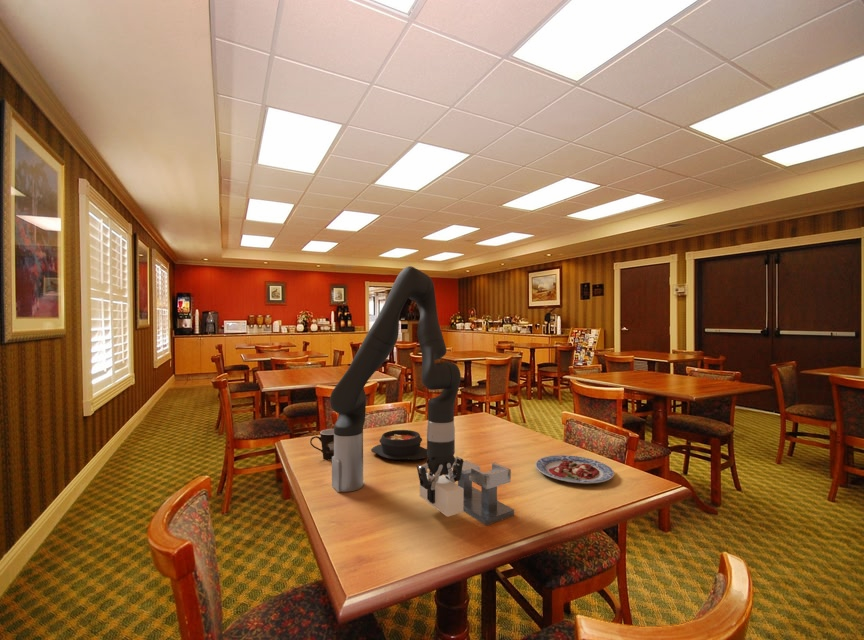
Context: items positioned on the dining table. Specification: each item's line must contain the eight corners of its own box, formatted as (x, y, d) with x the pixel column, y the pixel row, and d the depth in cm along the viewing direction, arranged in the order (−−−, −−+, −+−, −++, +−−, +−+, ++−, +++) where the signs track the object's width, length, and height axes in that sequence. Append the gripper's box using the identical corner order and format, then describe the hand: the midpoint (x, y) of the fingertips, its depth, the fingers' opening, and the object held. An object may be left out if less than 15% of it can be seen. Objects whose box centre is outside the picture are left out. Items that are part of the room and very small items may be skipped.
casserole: (439, 453, 158) (439, 432, 158) (416, 468, 142) (416, 445, 142) (387, 444, 170) (387, 425, 170) (361, 458, 153) (361, 436, 154)
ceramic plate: (552, 456, 155) (552, 448, 155) (622, 471, 139) (622, 463, 139) (522, 475, 135) (522, 467, 135) (600, 496, 119) (600, 486, 119)
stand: (485, 525, 102) (485, 477, 102) (442, 497, 118) (442, 455, 118) (514, 515, 107) (513, 469, 107) (468, 489, 124) (468, 449, 124)
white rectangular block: (447, 516, 99) (447, 492, 99) (419, 495, 111) (419, 474, 111) (463, 511, 101) (463, 488, 101) (434, 491, 113) (434, 471, 113)
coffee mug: (345, 454, 158) (345, 429, 158) (338, 461, 149) (338, 435, 150) (317, 453, 159) (317, 428, 159) (309, 460, 151) (309, 434, 151)
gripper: (454, 429, 113) (454, 489, 113) (410, 437, 106) (410, 500, 105) (470, 436, 107) (470, 499, 107) (425, 444, 99) (424, 512, 99)
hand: (440, 499), depth 106 cm, fingers closed on white rectangular block, 5 cm apart
